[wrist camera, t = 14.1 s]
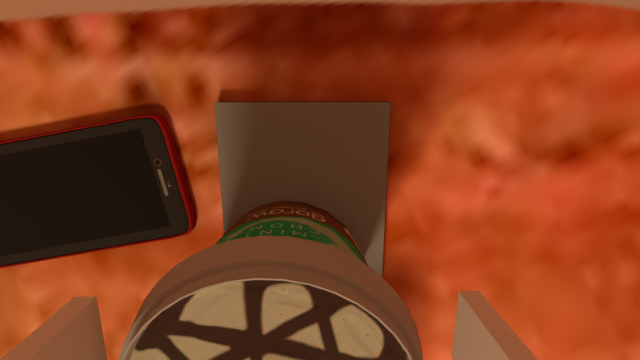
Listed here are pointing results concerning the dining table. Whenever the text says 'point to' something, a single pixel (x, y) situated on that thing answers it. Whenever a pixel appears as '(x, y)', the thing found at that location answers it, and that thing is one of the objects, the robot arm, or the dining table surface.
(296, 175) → the felt pad
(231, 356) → the food container
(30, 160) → the cell phone
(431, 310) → the dining table surface
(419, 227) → the dining table surface
